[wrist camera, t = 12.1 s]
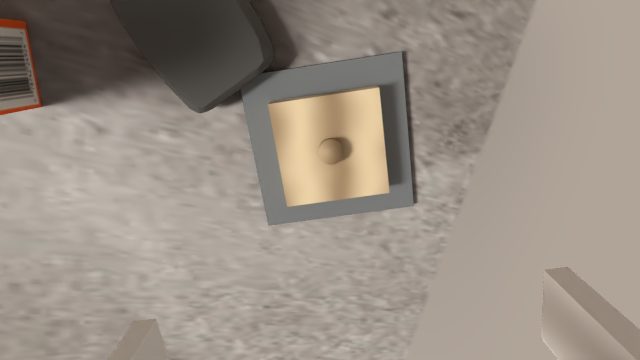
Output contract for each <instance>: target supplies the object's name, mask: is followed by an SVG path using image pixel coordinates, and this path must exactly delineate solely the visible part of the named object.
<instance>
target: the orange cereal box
mask: <svg viewBox="0 0 640 360" xmlns="http://www.w3.org/2000/svg"><path fill="white" fill-rule="evenodd" d="M39 107H42V105H41V100H40V94H39V89H38V84H37V79H36V73H35V68H34V63H33V58H32V53H31V47H30V42H29V37H28V32H27V26H26V21H19V20H10V19H0V115H2V114H8V113H13V112H18V111H23V110H28V109H33V108H39Z"/></svg>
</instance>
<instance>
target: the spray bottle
mask: <svg viewBox="0 0 640 360" xmlns="http://www.w3.org/2000/svg"><path fill="white" fill-rule="evenodd" d="M110 2H111V4H112V6H113V8H114V10H115V11H116V13H117V15H118V17H119V19H120V21H121V22H122V24H123V26H124V27H125V29H126V30H127V32H128V33H129V35H130V36H131V38H132V39H133V41H134V42H135V44H136V45H137V47H138V48H139V50H140V51H141V53H142V54H143V55H144V56H145V58H146V59H147V60H148V61H149V63H150V64H151V65H152V66H153V68H154V69H155V70H156V71H157V73H158V74H159V75H160V76H161V78H162V79H163V80H164V81H165V83H166V84H167V85H168V86H169V87H170V88H171V89H172V90H173V91H174V92H175V93H176V95H177V96H178V97H179V98H180V99H181V100H182V101H183V102H184V103H185V104H186V105H187V106H188V107H189V108H190V109H192V110H194V111H195V112H198V113H203V112H207V111H209V110H211V109H213V108H214V107H216V106H217V105H219V104H220V103H221V102H223V101H224V100H226V99H227V98H228V97H230V96H231V95H233V94H234V93H236V92H237V91H238V90H240V89H241V88H243V87H244V86H246V85H247V84H248V83H250V82H251V81H253V80H254V79H255V78H256V77H257V76H258V75H260V74H261V73H262V72H263V71H264V70H266V69H267V68H268V67H269V66H270V65H271V63H272V60H273V58H274V55H275V54H274V50H273V45H272V43H271V41H270V39H269V37H268V35H267V33H266V31H265V29H264V27H263V24H262V22H261V20H260V18H259V17H258V15H257V14H256V12H255V10H254V9H253V7H252V5H251V4H250V2H249V0H110Z"/></svg>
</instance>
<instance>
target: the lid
mask: <svg viewBox="0 0 640 360" xmlns="http://www.w3.org/2000/svg"><path fill="white" fill-rule="evenodd" d="M268 107H269V113H270V118H271V123H272V129H273V134H274V139H275V145H276V150H277V155H278V161H279V166H280V172H281V177H282V182H283V188H284V193H285V198H286V204H287V207H290V206H297V205H305V204H312V203H319V202H326V201H334V200H341V199H348V198H356V197H363V196H370V195H377V194H385V193H390V192H389V182H388V172H387V162H386V151H385V141H384V131H383V121H382V110H381V100H380V90H379V87H378V86H370V87H363V88H357V89H350V90H343V91H337V92H330V93H323V94H317V95H310V96H303V97H297V98H290V99H283V100H277V101H271V102H270V103H269V104H268Z"/></svg>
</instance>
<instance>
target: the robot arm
mask: <svg viewBox="0 0 640 360" xmlns="http://www.w3.org/2000/svg"><path fill="white" fill-rule="evenodd" d="M541 339H542V340H543V341H544V342H545V344H546V345H547V346H548V348H549V349H550V350H551V352H553V354H554V355H555V357H556V358H557V359H558V360H640V329H639V328H638V327H636V326H635V325H634V324H633V323H632V322H631V321H629V320H628V319H627V318H626V317H625V316H624V315H623V314H621V313H620V312H619V311H618V310H617V309H616V308H614V307H613V306H612V305H611V304H610V303H609V302H607V301H606V300H605V299H604V298H603V297H602V296H601V295H599V294H598V293H597V292H596V291H595V290H594V289H592V288H591V287H590V286H589V285H588V284H587V283H586V282H584V281H583V280H582V279H581V278H580V277H579V276H577V275H576V274H575V273H574V272H573V271H572V270H571V269H569V268H568V267H564V268H556V269H548V270H544V280H543V307H542V335H541ZM108 360H169V357H168V354H167V351H166V348H165V345H164V342H163V339H162V336H161V333H160V330H159V327H158V324H157V321H156V319H150V320H142V321H134V323H133V324H132V326H131V327H130V328H129V330H128V331H127V333H126V334H125V336H124V337H123V339H122V340H121V341H120V343H119V344H118V346H117V347H116V349H115V350H114V352H113V353H112V354H111V356H110V357H109V359H108Z"/></svg>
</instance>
